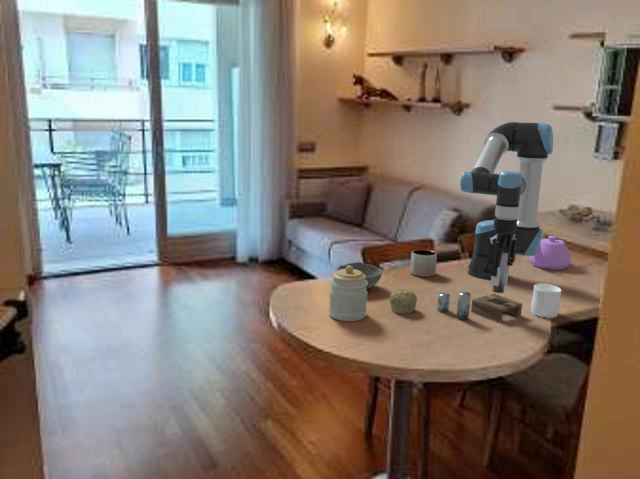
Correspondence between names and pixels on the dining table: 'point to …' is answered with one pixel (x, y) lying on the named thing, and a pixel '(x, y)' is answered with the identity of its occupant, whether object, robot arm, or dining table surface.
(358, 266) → the bowl
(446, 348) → the dining table surface
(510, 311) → the block
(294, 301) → the dining table surface
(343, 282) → the jar
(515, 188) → the robot arm
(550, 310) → the cup
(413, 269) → the planter
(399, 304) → the decorative item
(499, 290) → the long pin
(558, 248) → the teapot
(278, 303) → the dining table surface
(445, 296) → the short pin
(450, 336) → the dining table surface
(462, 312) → the medium pin
